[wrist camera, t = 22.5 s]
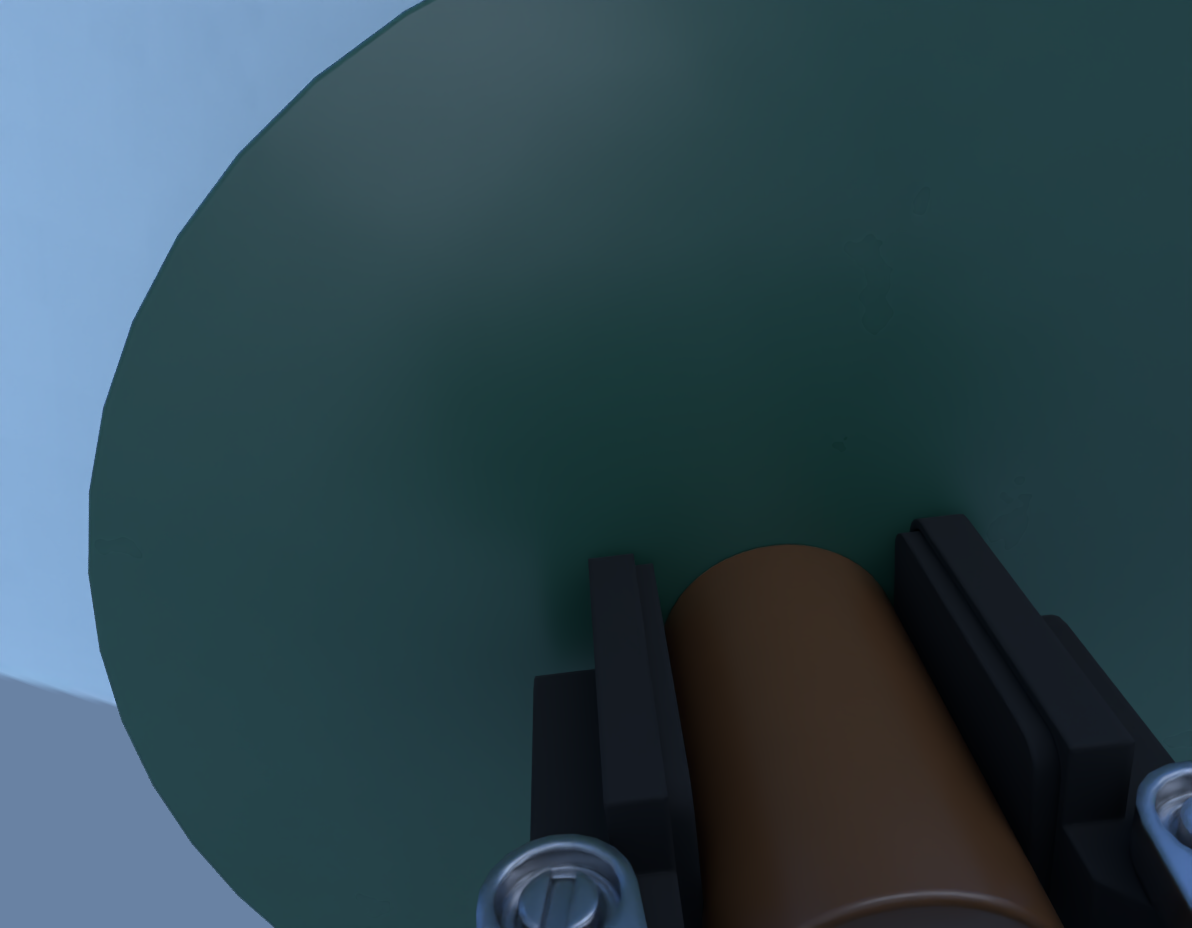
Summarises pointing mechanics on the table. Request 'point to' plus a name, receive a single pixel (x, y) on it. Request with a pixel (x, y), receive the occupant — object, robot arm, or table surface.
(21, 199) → the table surface
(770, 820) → the lid
